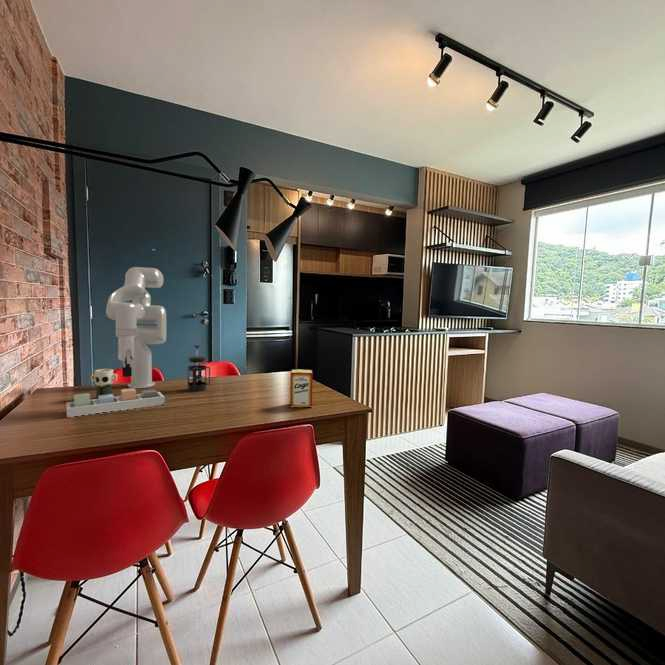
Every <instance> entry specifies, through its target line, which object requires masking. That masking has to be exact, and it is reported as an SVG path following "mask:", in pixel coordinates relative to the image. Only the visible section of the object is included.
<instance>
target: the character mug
mask: <svg viewBox="0 0 665 665" xmlns="http://www.w3.org/2000/svg"><path fill="white" fill-rule="evenodd" d="M90 381H91V382H94V384H95V385H96V386H97V389H96V395H95V396H96V397H95V399H98V396H100V395H109V394H113V389H112V384H113V383H114V382H116V381H118V374H117V373H114V369H112V368H102V369H96V370H94V373H91V374H90Z"/></svg>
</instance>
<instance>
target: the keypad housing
mask: <svg viewBox="0 0 665 665" xmlns="http://www.w3.org/2000/svg"><path fill="white" fill-rule="evenodd" d="M165 398H166V397H165V395H164V394H162V392H161V391H157V397H152V398H144V399H142V393H136V400H128V401H122V400H121V395H120V396H114V402H112V403H104V404H98V399H97V398H95V399H94V398H93V399H90V405H88V406H79V407H75V406H74V401H70V402H69V401H68V402H66V403H65V404H66V406H65V407H66V408H65V410H66V411H65V412H66V418H67V417H71V418H75V417H74V416H78V417H82V416H81V415H85V416H89V415H88V414H92V415H96V414H95V413H100V414H103V413H102V412H107V413H111V412H110V411H114V412H118V411H119V410H121V411H127V409H129V410H135V409H134V408H136V409H142V407H143V408H149V406H150V407H156V405H157V406H163V405H162V404H165V405H166V403H165V402H166V401H165ZM119 412H120V411H119Z"/></svg>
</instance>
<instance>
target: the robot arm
mask: <svg viewBox="0 0 665 665" xmlns="http://www.w3.org/2000/svg"><path fill="white" fill-rule="evenodd" d="M163 284H164V275H163V273H162V272H161V271H160V270H159V269H158V268H154V267H145V266H143V267H141V266H135V267H134V266H133V267H130V268H128V270H127V271H126V272H125V280H124V285H123V286H120V288H118V289H116V290H114V291H113V292H112V293H111V294H110V295H109V297H108V299H107V303H106V308H105V309H106V310H105V313H106V316H107V318H109V319H110V320H113V321H114V320H115V337H117V338H118V341H117V342H118V343H117V349H118V350H117V358H118V360H119V361H120V362H122V374H121V375H122V377H123V378H129V377H130V380H131V381H130V383H128V384H127V387H128V389H130V388H135V389H145V388H146V389H147V388H151V387H153V386H156V382H155V381H153V378H152V377H153V376H152V375H153V371H152V370H153V368H152V366H153V364H152V362H153V361H152V360H153V359H152V358H153V357H152V356H153V355H152V351H151V349H150V348H149V347H148V346H147V345H162V344H164V343H166V341H167V310H166V308H165V307H164V306H162V305H155V304H154V305H151V303H152V302H151V301H152V297H151V294H150V293H149V292H148V290H147V289H146V288H153V289H154V288H155V289H160V288H161V287H163ZM129 301H131V302H129ZM137 324H155V325H137Z"/></svg>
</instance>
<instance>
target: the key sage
mask: <svg viewBox="0 0 665 665" xmlns="http://www.w3.org/2000/svg"><path fill="white" fill-rule="evenodd" d="M90 400H91V394H90V392H85V393H84V392H83V393H76V394H73V402H74V406H75V407H79V406H88V405H90Z"/></svg>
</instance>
